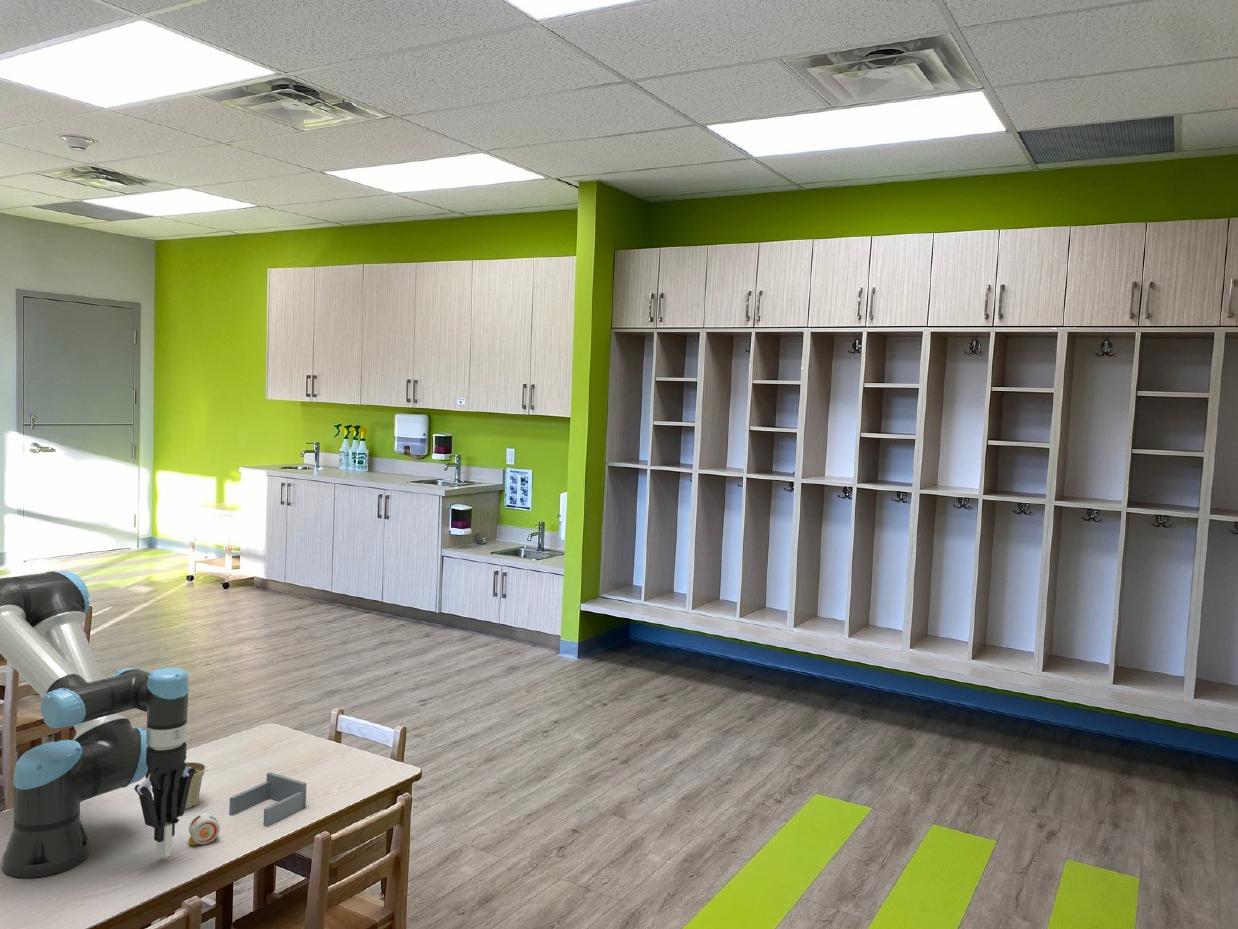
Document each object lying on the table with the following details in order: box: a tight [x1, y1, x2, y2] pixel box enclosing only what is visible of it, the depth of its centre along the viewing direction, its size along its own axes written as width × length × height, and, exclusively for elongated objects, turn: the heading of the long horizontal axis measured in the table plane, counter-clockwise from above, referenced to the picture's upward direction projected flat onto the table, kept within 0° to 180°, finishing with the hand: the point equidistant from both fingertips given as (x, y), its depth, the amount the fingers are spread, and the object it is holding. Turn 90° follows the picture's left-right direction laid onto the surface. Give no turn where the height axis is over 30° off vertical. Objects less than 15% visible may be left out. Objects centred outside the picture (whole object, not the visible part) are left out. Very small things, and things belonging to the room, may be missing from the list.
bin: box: [228, 771, 307, 827], centre depth 214 cm, size 12×12×6 cm
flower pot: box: [178, 761, 207, 810], centre depth 215 cm, size 9×9×9 cm
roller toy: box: [188, 812, 221, 846], centre depth 198 cm, size 4×6×6 cm
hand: (164, 854), depth 189 cm, fingers closed
